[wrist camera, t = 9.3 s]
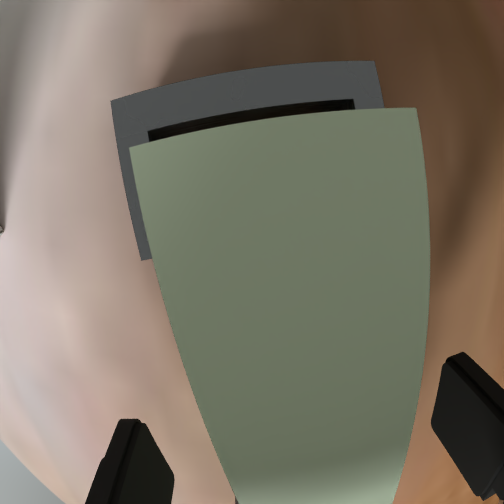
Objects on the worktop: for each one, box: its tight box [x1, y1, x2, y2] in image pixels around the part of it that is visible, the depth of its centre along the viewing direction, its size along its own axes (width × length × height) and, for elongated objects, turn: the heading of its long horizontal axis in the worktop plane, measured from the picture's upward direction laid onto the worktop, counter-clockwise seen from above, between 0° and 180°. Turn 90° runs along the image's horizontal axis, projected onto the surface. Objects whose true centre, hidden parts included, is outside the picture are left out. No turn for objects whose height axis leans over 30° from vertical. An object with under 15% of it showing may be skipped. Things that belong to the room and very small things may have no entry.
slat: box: [129, 108, 430, 504], centre depth 9 cm, size 4×16×7 cm, turn 10°
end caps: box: [111, 61, 384, 504], centre depth 11 cm, size 6×20×3 cm, turn 10°
